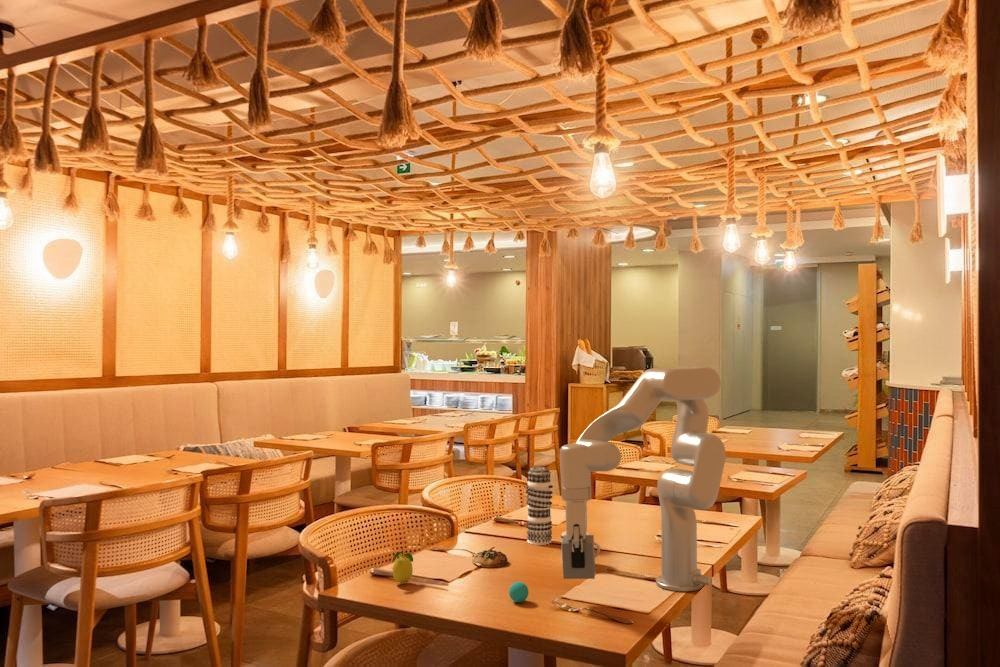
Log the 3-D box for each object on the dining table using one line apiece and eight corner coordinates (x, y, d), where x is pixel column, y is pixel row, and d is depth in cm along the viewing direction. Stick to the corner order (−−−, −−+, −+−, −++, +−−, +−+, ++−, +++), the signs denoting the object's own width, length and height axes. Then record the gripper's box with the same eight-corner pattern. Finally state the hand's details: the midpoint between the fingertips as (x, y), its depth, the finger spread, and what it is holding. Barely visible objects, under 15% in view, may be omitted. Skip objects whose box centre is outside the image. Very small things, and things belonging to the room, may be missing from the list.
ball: (519, 607, 192) (534, 596, 192) (511, 604, 188) (527, 593, 188) (510, 590, 195) (525, 579, 195) (502, 587, 191) (518, 576, 191)
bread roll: (514, 561, 229) (512, 545, 229) (496, 575, 220) (494, 558, 220) (484, 557, 235) (482, 542, 235) (464, 571, 226) (462, 555, 225)
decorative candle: (540, 537, 260) (539, 465, 261) (558, 542, 253) (558, 468, 254) (520, 541, 254) (520, 467, 255) (538, 546, 247) (538, 470, 248)
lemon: (391, 588, 203) (391, 551, 203) (388, 582, 208) (389, 545, 209) (416, 586, 204) (416, 549, 205) (412, 580, 210) (412, 544, 210)
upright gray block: (595, 569, 193) (593, 535, 193) (594, 578, 186) (592, 543, 186) (565, 569, 194) (563, 535, 194) (563, 578, 187) (561, 543, 187)
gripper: (563, 486, 199) (566, 552, 199) (559, 500, 182) (562, 573, 182) (592, 486, 198) (594, 552, 198) (590, 500, 181) (593, 573, 181)
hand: (579, 562), depth 190 cm, fingers closed on upright gray block, 7 cm apart
